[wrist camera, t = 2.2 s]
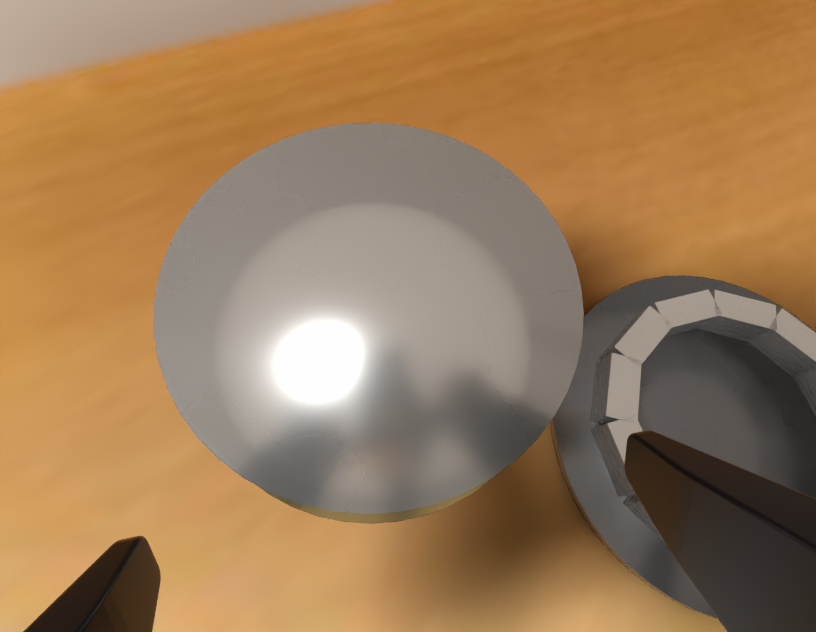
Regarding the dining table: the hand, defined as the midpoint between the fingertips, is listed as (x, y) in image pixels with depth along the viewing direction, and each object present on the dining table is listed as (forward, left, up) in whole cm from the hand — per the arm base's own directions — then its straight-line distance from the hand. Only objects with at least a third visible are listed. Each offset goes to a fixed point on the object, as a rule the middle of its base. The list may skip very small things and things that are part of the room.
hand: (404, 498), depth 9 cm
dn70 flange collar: (-7, -12, -10) cm, 17 cm away
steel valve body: (+3, -2, -10) cm, 11 cm away
